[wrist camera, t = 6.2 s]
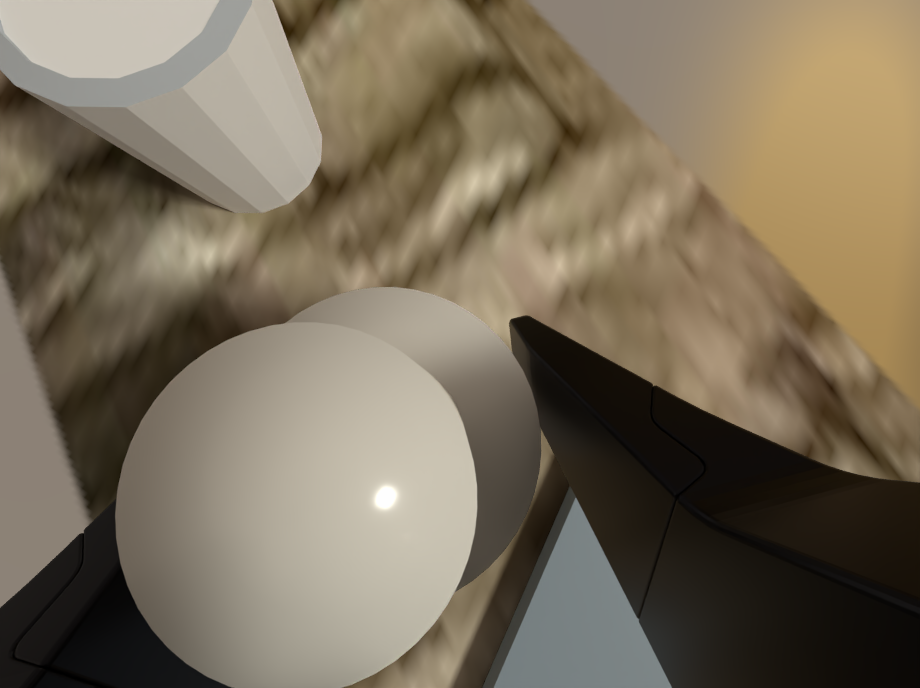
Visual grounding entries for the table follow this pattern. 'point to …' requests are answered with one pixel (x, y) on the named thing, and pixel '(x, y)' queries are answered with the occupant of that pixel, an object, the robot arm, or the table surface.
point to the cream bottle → (326, 488)
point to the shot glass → (175, 89)
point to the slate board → (574, 620)
